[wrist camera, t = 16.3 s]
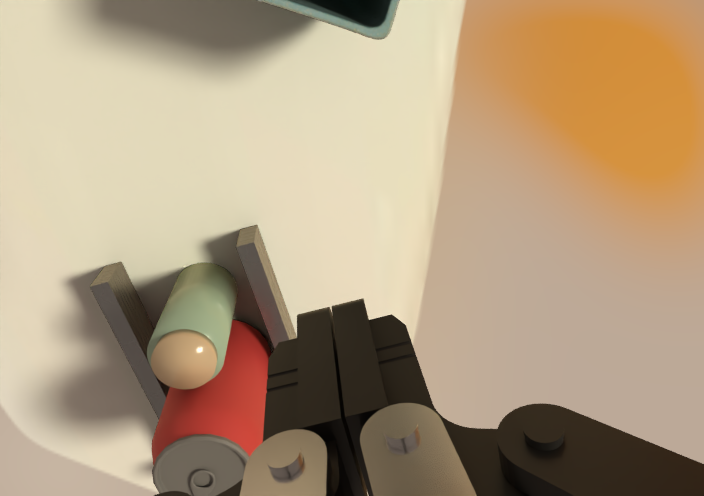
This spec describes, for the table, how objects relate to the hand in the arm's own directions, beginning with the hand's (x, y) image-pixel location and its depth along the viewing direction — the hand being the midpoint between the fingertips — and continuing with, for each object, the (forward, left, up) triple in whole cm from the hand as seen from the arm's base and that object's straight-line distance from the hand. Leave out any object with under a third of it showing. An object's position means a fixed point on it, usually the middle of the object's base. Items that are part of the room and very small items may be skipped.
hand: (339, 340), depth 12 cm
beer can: (+15, -11, -25) cm, 31 cm away
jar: (+10, -11, -25) cm, 29 cm away
